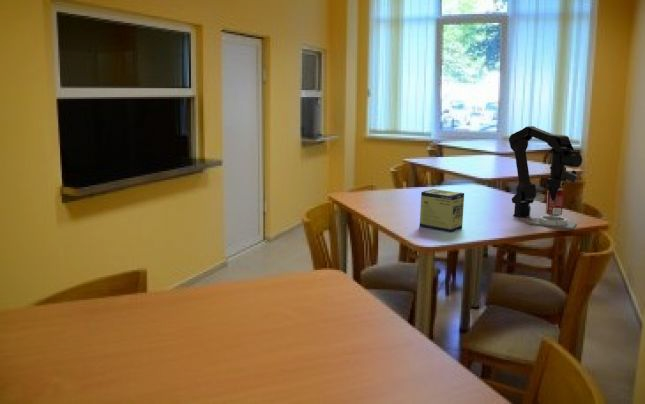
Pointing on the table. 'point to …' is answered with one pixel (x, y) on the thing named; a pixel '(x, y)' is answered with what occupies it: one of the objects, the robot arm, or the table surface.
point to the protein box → (441, 210)
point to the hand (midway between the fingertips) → (554, 199)
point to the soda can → (555, 204)
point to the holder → (553, 222)
